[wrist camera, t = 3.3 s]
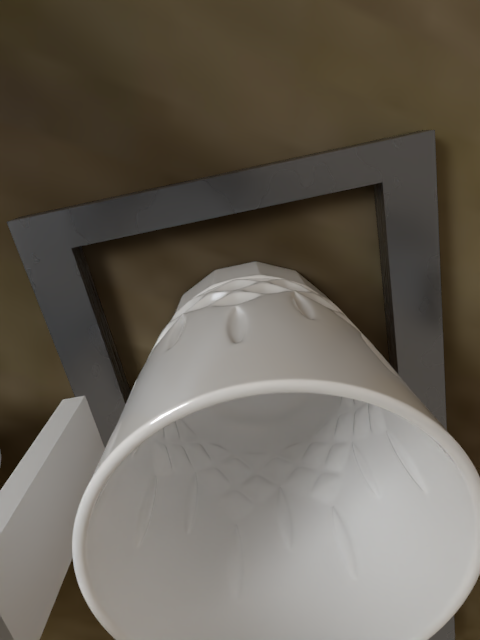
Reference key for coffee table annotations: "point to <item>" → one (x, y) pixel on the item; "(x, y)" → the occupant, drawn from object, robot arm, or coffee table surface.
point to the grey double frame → (238, 196)
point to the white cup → (275, 482)
